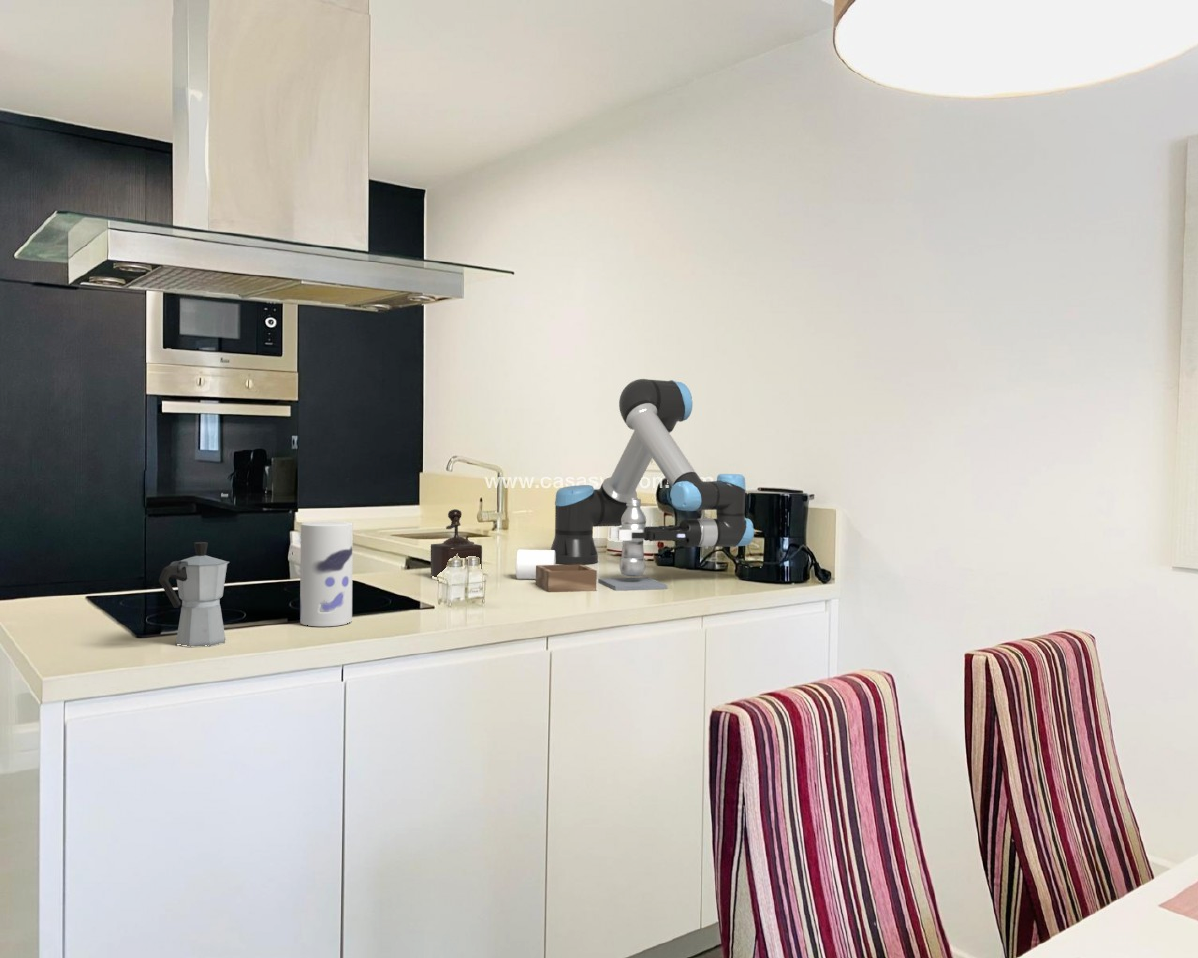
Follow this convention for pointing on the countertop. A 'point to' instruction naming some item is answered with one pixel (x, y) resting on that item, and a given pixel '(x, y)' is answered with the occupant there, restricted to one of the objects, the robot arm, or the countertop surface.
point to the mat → (632, 583)
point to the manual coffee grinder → (452, 547)
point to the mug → (532, 562)
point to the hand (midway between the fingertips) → (614, 533)
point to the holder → (566, 578)
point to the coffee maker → (197, 597)
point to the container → (326, 573)
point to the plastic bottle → (633, 549)
